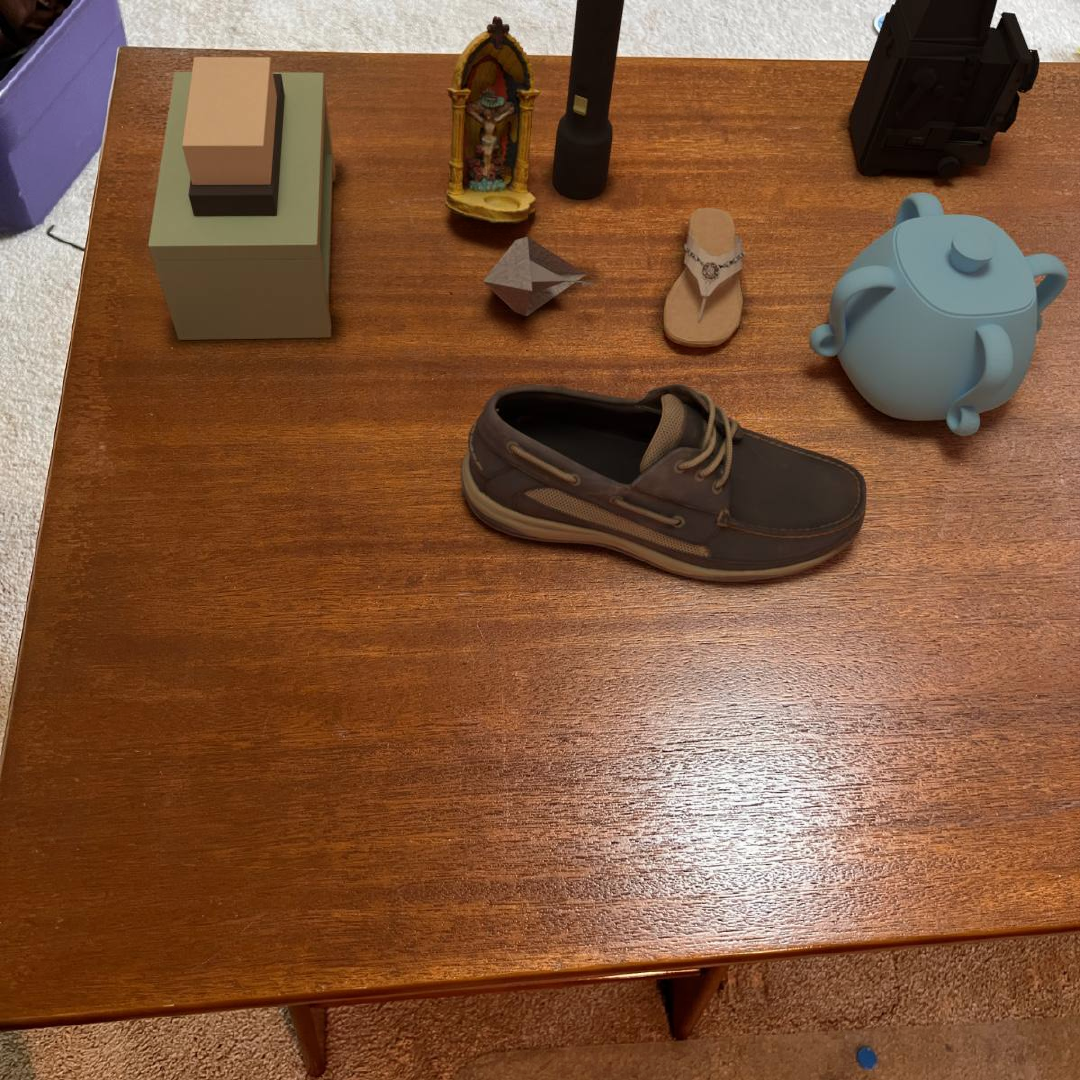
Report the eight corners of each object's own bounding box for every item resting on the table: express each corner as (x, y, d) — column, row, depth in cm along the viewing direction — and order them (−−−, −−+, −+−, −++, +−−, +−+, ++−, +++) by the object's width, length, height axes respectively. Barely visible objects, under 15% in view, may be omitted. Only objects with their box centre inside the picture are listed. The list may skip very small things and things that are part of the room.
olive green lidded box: (331, 337, 87) (317, 244, 79) (178, 340, 86) (147, 245, 77) (335, 170, 97) (323, 72, 89) (199, 171, 96) (174, 71, 88)
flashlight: (566, 156, 100) (542, 187, 98) (594, -112, 80) (564, -81, 78) (615, 175, 100) (591, 207, 97) (656, -91, 79) (627, -59, 77)
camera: (997, 191, 102) (1106, -13, 85) (856, 183, 101) (937, -24, 84) (975, 122, 107) (1073, -83, 90) (840, 114, 106) (914, -94, 89)
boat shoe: (858, 598, 77) (911, 517, 68) (451, 563, 77) (450, 477, 68) (845, 474, 83) (892, 384, 74) (466, 441, 83) (467, 346, 73)
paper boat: (520, 227, 93) (621, 234, 90) (519, 302, 96) (617, 311, 93) (458, 241, 83) (570, 250, 80) (459, 325, 86) (567, 337, 82)
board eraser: (277, 216, 80) (265, 154, 75) (193, 216, 79) (177, 154, 75) (284, 95, 87) (275, 32, 82) (208, 95, 86) (194, 31, 82)
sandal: (660, 353, 88) (670, 310, 84) (665, 221, 97) (674, 176, 92) (741, 362, 89) (755, 319, 84) (738, 229, 97) (751, 184, 92)
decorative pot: (772, 362, 89) (819, 237, 77) (879, 265, 95) (937, 136, 84) (940, 479, 84) (1017, 363, 72) (1041, 367, 90) (1126, 245, 79)
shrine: (444, 162, 99) (442, 9, 86) (532, 164, 100) (543, 11, 87) (445, 252, 93) (443, 100, 80) (539, 252, 94) (552, 102, 81)
